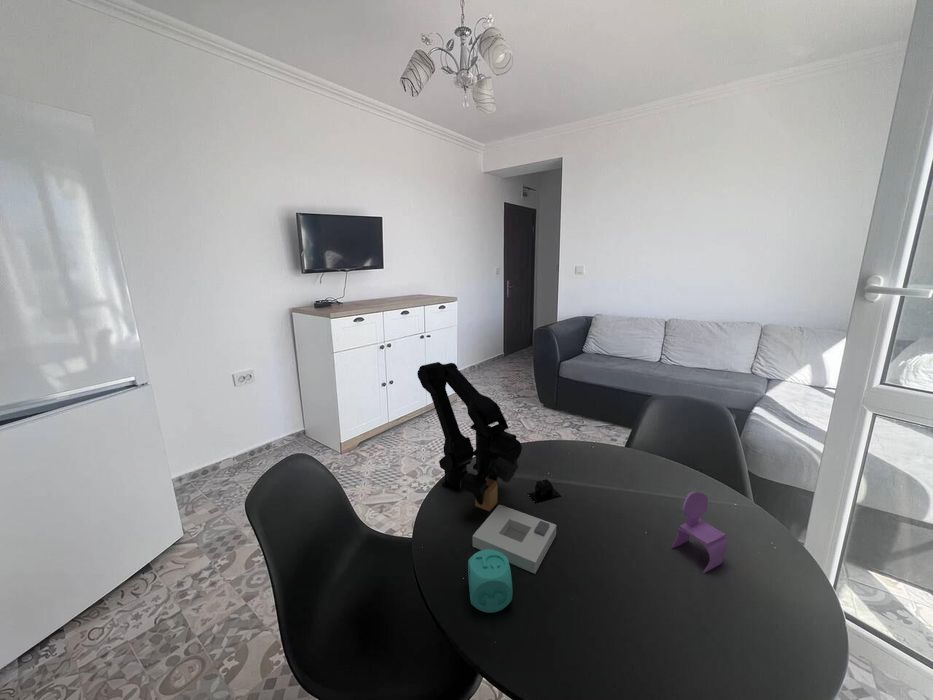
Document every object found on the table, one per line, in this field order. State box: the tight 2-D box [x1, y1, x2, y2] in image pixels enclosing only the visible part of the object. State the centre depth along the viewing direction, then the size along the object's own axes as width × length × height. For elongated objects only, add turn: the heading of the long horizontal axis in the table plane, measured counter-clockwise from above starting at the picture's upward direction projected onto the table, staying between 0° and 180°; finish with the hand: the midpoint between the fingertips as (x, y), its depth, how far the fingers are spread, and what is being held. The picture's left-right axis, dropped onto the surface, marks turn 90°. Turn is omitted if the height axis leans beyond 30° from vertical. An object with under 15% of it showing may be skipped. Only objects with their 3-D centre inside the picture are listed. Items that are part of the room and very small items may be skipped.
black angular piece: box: [526, 478, 562, 505], centre depth 110 cm, size 12×7×5 cm, turn 111°
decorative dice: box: [467, 549, 513, 614], centre depth 77 cm, size 8×8×8 cm
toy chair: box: [670, 491, 727, 574], centre depth 85 cm, size 8×9×15 cm
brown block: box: [474, 478, 499, 512], centre depth 106 cm, size 5×5×7 cm
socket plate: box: [472, 504, 558, 575], centre depth 92 cm, size 16×14×4 cm
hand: (486, 497), depth 106 cm, fingers open, 6 cm apart
